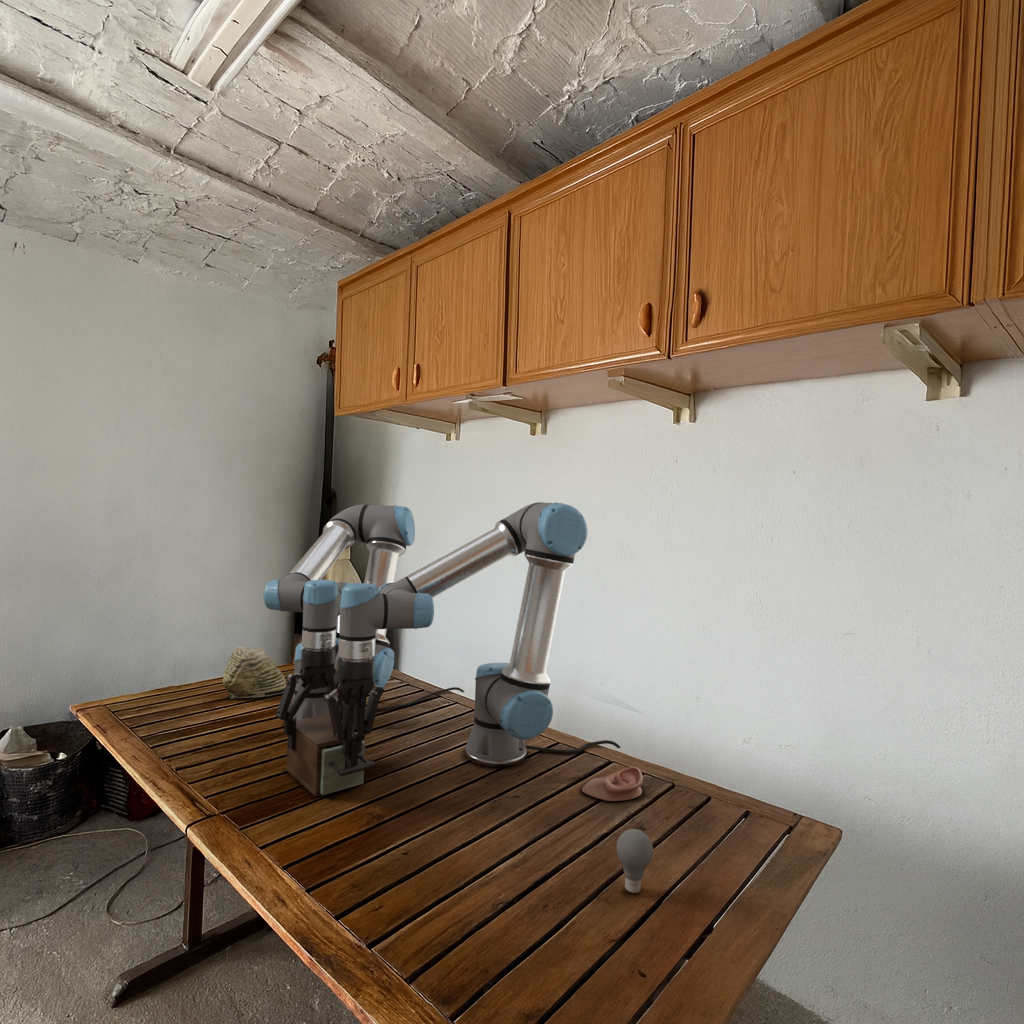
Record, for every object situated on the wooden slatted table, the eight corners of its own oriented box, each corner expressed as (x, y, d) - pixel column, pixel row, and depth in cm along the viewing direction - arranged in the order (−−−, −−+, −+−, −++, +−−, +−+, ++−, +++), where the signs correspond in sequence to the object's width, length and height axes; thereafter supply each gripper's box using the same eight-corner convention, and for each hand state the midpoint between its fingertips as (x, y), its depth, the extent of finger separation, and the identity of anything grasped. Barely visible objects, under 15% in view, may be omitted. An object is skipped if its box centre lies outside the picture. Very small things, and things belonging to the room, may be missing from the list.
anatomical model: (581, 779, 138) (585, 758, 149) (580, 797, 138) (585, 775, 149) (643, 787, 135) (643, 766, 147) (642, 806, 136) (642, 783, 147)
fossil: (218, 695, 195) (220, 647, 195) (278, 685, 208) (279, 640, 207) (228, 703, 189) (230, 653, 188) (289, 692, 201) (290, 645, 201)
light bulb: (610, 879, 108) (613, 822, 108) (644, 879, 109) (647, 822, 109) (619, 902, 102) (622, 840, 102) (655, 901, 103) (658, 840, 103)
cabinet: (361, 783, 141) (363, 733, 140) (315, 796, 134) (317, 744, 133) (329, 759, 153) (331, 713, 152) (286, 770, 146) (288, 721, 145)
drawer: (377, 794, 134) (379, 751, 134) (335, 807, 128) (337, 761, 128) (333, 760, 150) (335, 721, 150) (294, 770, 144) (296, 730, 143)
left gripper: (274, 657, 136) (271, 759, 136) (371, 644, 151) (368, 736, 151) (262, 650, 141) (258, 748, 142) (356, 638, 157) (353, 727, 157)
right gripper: (335, 666, 125) (329, 784, 126) (392, 657, 134) (387, 768, 134) (319, 657, 131) (313, 770, 131) (375, 650, 140) (370, 756, 140)
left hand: (315, 742), depth 147 cm, fingers closed on cabinet, 11 cm apart
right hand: (350, 769), depth 133 cm, fingers closed
